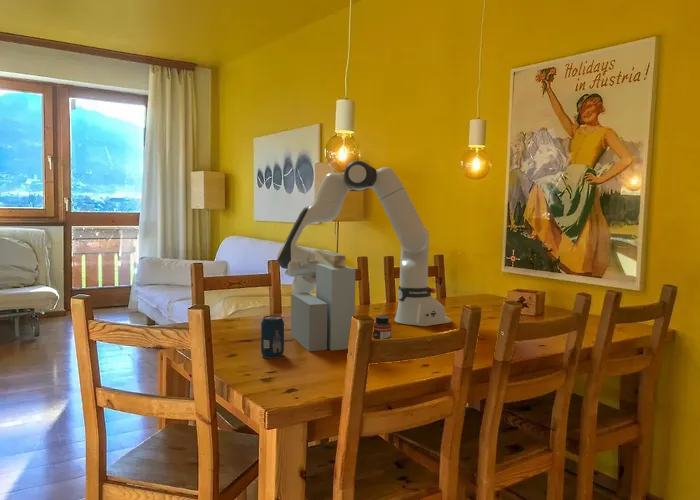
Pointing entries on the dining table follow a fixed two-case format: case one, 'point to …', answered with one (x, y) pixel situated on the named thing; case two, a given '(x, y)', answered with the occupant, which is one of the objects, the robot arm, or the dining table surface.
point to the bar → (330, 258)
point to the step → (309, 321)
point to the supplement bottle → (382, 328)
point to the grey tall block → (337, 302)
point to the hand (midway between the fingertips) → (320, 258)
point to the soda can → (272, 336)
